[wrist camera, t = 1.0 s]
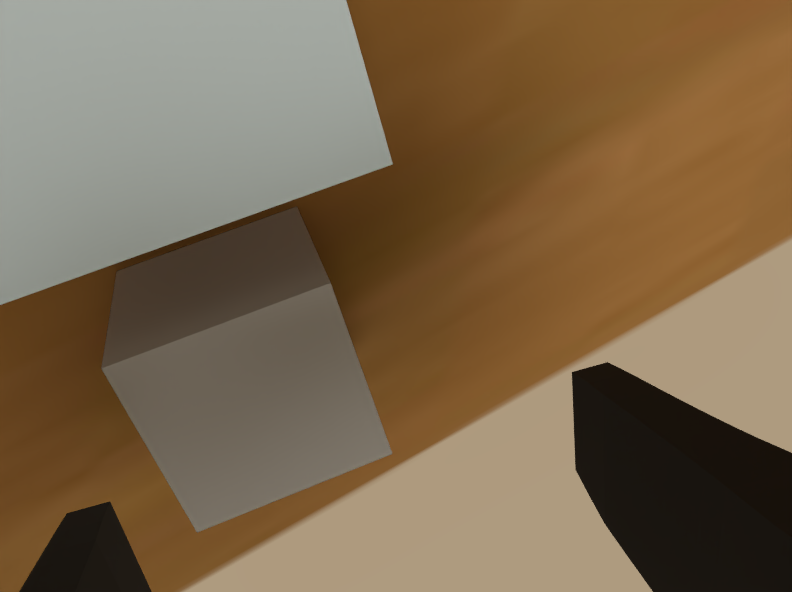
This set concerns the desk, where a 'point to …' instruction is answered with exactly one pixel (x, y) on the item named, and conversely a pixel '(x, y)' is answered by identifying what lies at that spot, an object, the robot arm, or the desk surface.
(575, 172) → the desk surface
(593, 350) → the desk surface
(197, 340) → the grey cube
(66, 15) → the flap
